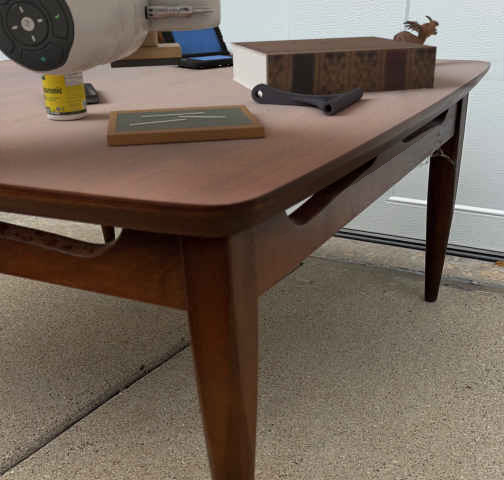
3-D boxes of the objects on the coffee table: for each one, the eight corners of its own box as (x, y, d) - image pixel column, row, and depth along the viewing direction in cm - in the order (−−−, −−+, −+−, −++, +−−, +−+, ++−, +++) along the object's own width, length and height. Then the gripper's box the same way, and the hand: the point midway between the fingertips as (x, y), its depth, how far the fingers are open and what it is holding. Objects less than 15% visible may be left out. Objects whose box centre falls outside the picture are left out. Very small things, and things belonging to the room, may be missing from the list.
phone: (90, 82, 117) (99, 94, 104) (91, 89, 118) (100, 102, 105) (42, 85, 115) (45, 98, 102) (43, 92, 116) (46, 105, 103)
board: (107, 146, 77) (106, 134, 77) (111, 120, 92) (110, 110, 91) (264, 137, 80) (264, 126, 79) (244, 113, 94) (244, 103, 94)
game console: (195, 70, 141) (192, 22, 137) (159, 65, 151) (156, 20, 147) (254, 63, 150) (253, 18, 146) (216, 59, 159) (214, 17, 156)
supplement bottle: (39, 118, 94) (28, 42, 90) (73, 112, 98) (63, 39, 94) (61, 122, 91) (51, 44, 87) (95, 116, 95) (86, 40, 91)
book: (433, 89, 112) (436, 46, 109) (268, 99, 106) (268, 54, 103) (371, 72, 134) (372, 36, 131) (231, 80, 127) (229, 42, 124)
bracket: (271, 95, 109) (271, 76, 107) (363, 99, 103) (364, 79, 102) (232, 111, 97) (231, 90, 96) (333, 116, 91) (334, 94, 90)
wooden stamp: (111, 68, 77) (100, -31, 73) (112, 63, 82) (102, -30, 78) (182, 64, 78) (175, -33, 74) (179, 60, 83) (173, -32, 79)
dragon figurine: (411, 61, 146) (414, 14, 142) (435, 63, 143) (440, 15, 139) (374, 68, 137) (377, 18, 134) (399, 70, 134) (403, 18, 130)
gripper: (205, -26, 63) (232, -26, 76) (-3, -20, 66) (56, -20, 79) (208, 47, 66) (234, 36, 78) (8, 50, 69) (63, 39, 81)
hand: (143, 8), depth 78 cm, fingers closed on wooden stamp, 3 cm apart
